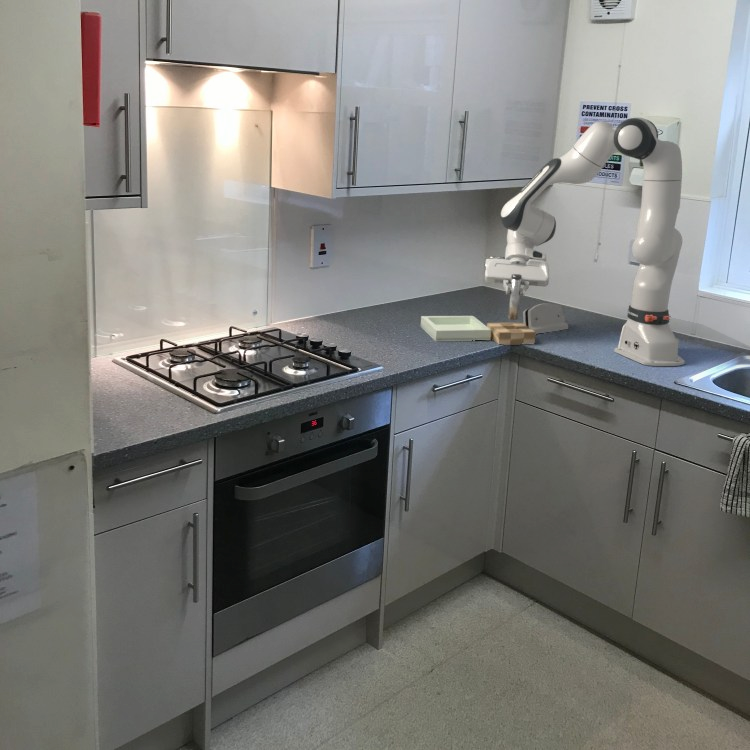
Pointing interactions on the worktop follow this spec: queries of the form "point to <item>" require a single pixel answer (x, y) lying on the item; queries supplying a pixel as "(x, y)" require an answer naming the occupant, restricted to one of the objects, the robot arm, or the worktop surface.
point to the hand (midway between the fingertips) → (515, 294)
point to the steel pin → (514, 296)
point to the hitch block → (511, 333)
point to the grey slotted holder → (544, 318)
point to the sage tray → (455, 328)
